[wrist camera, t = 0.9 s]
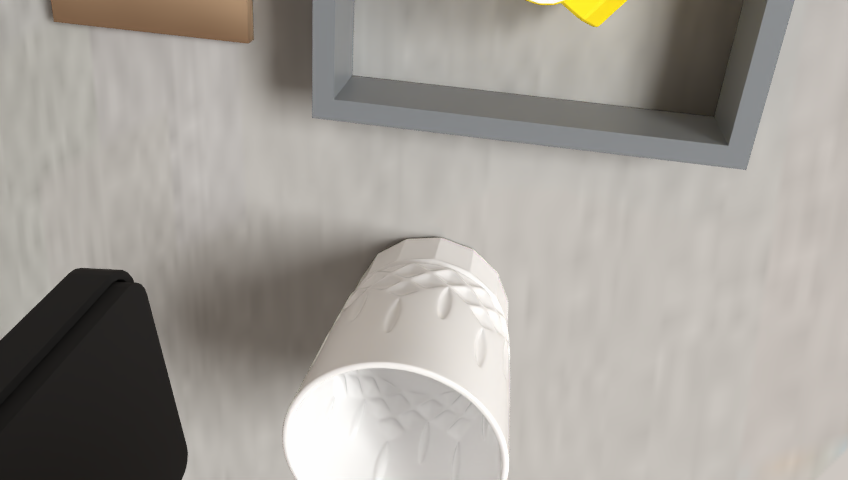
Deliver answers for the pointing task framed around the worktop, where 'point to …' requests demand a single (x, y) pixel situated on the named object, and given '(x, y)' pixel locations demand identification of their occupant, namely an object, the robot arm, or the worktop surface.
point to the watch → (587, 8)
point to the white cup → (409, 374)
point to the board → (164, 16)
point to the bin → (556, 100)
